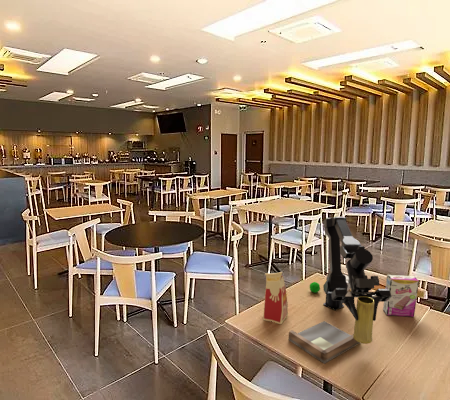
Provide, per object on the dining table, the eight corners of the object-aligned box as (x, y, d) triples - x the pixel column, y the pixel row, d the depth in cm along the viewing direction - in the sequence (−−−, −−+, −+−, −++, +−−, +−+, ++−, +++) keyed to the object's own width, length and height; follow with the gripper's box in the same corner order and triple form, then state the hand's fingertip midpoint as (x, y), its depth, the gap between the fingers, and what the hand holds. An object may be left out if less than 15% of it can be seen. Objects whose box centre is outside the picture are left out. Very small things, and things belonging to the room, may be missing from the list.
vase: (372, 335, 115) (375, 297, 112) (372, 345, 109) (376, 305, 107) (353, 331, 117) (356, 294, 115) (352, 341, 112) (355, 302, 109)
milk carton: (287, 314, 140) (289, 269, 137) (282, 324, 132) (283, 277, 128) (267, 309, 144) (268, 265, 140) (260, 319, 136) (261, 273, 132)
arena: (288, 340, 122) (288, 331, 121) (324, 323, 133) (324, 315, 133) (324, 363, 109) (324, 354, 108) (360, 342, 120) (361, 334, 120)
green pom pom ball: (307, 292, 160) (308, 283, 159) (310, 288, 164) (311, 279, 163) (318, 295, 158) (318, 285, 157) (321, 291, 162) (321, 281, 161)
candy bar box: (387, 316, 139) (390, 279, 136) (382, 310, 144) (386, 274, 141) (415, 317, 138) (419, 280, 135) (409, 311, 143) (413, 275, 140)
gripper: (336, 266, 113) (344, 312, 104) (392, 266, 112) (404, 314, 104) (328, 278, 122) (335, 322, 113) (380, 279, 122) (390, 323, 113)
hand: (365, 320), depth 111 cm, fingers closed on vase, 5 cm apart
